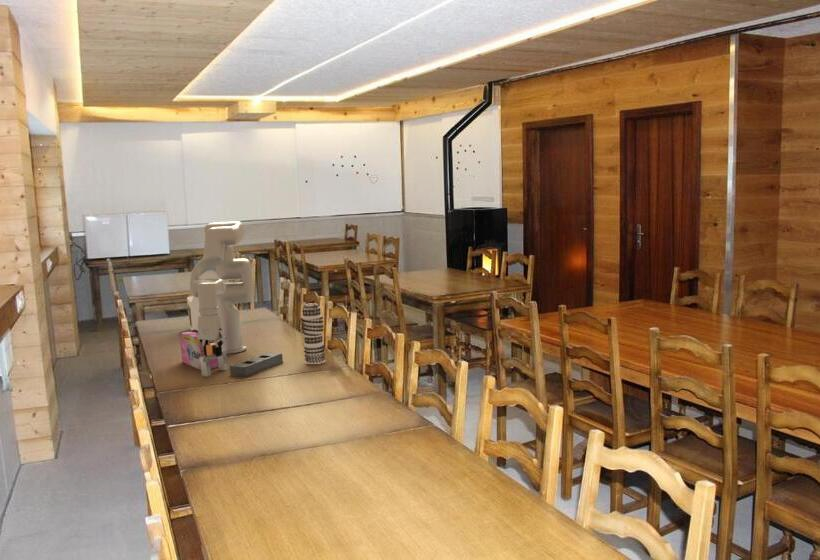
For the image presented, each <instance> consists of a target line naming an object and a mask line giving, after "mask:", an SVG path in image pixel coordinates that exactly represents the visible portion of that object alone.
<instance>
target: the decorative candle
mask: <svg viewBox="0 0 820 560" xmlns="http://www.w3.org/2000/svg"><path fill="white" fill-rule="evenodd" d="M301 310H302V317H301V318H300V320H301V321H302V322H301V325H302V326H301V329H302V334H303V335H302V336H303V338H304V342H303V343H304V345H303V346H304V347H303V349H304V353H305V354H304V360H305V363H306V364H305V365H307V364H318V365H322V364H325V363H326V360H325V359H326V353H325V352H324V351H325V345H324V340H323V339H324V338H323V336H324V329H323V328H324V325H323V323H324V320H323V319H324V317H323V316H322V314H321V306H320V305H319V304H318V303H315V302H309V303H308V302H307V303H305V304H304V305H303V306H302V307H301ZM324 362H325V363H324ZM321 363H322V364H321Z"/></svg>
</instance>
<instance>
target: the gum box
mask: <svg viewBox="0 0 820 560" xmlns="http://www.w3.org/2000/svg"><path fill="white" fill-rule="evenodd" d="M197 335H198V330H192V332H191V331H186V332H182V331H179V342H180V343H179V344H180V352H181V353H180V354H181V362H182V363H184V364H185V365H189V366H190V367H193V368H195V369H197V370H200V371H201V363H200V360H199V358H200V357H203V356H205V355H204V346H202V343H201V342H200V340H199V339H198V338H197ZM211 343H215V342H214V341H213V340H209V344H211ZM217 368H219V366H218V358H216V359H213V360H210V370H211V369H217Z"/></svg>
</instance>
